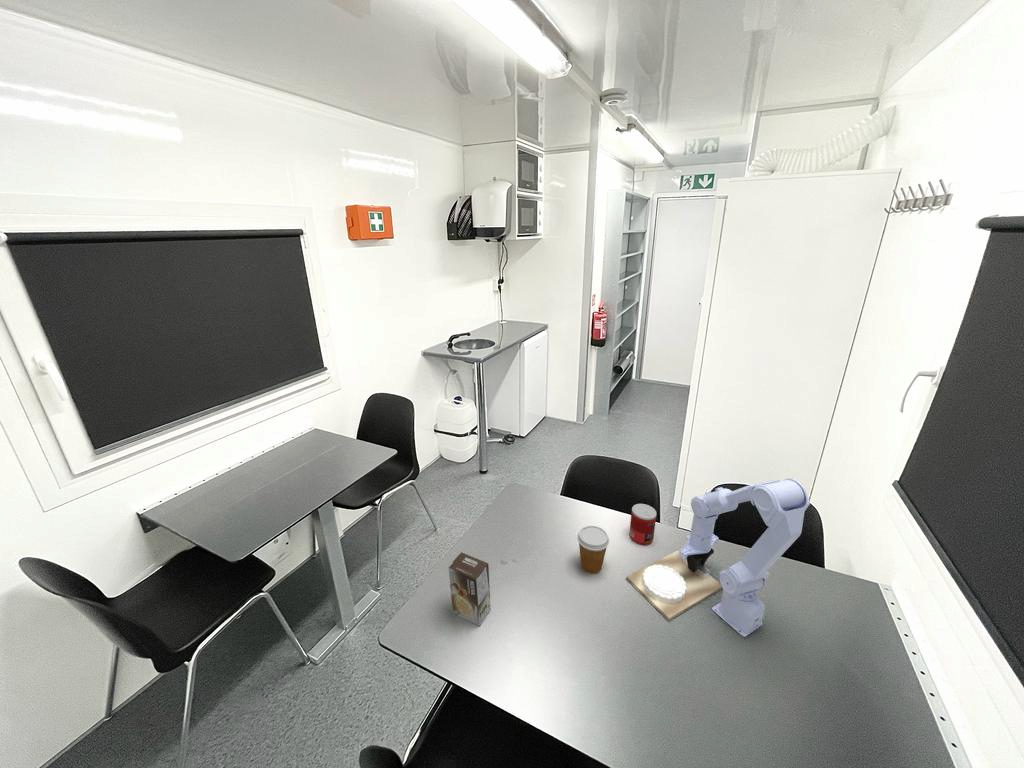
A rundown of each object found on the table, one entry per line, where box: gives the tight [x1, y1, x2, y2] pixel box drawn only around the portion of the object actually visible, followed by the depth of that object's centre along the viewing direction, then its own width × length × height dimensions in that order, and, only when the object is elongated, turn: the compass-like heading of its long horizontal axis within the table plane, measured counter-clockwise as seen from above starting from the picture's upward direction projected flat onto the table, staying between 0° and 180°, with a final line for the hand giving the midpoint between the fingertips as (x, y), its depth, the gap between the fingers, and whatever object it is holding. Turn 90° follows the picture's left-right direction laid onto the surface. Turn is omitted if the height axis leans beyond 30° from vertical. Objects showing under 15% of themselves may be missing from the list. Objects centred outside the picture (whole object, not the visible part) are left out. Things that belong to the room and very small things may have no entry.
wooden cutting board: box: [625, 550, 723, 622], centre depth 117 cm, size 16×22×3 cm
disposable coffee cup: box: [576, 525, 610, 575], centre depth 122 cm, size 10×10×12 cm
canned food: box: [628, 503, 657, 546], centre depth 134 cm, size 8×8×11 cm
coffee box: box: [448, 552, 492, 627], centre depth 107 cm, size 9×6×16 cm
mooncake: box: [642, 565, 687, 604], centre depth 115 cm, size 12×12×4 cm
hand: (695, 568), depth 121 cm, fingers closed on wooden cutting board, 2 cm apart
